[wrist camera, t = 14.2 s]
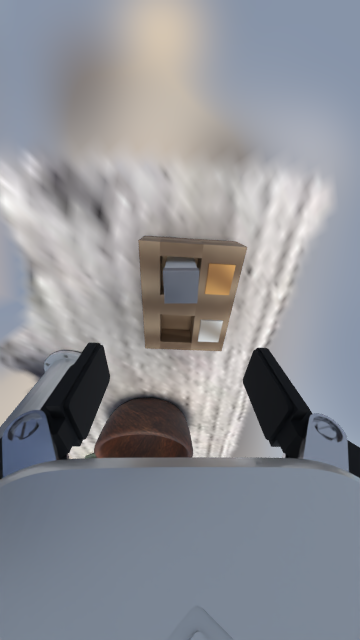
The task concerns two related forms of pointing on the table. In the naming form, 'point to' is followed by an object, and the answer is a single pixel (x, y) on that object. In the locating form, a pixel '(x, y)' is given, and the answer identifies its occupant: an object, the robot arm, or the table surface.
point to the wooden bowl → (145, 431)
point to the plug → (180, 280)
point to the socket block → (213, 292)
